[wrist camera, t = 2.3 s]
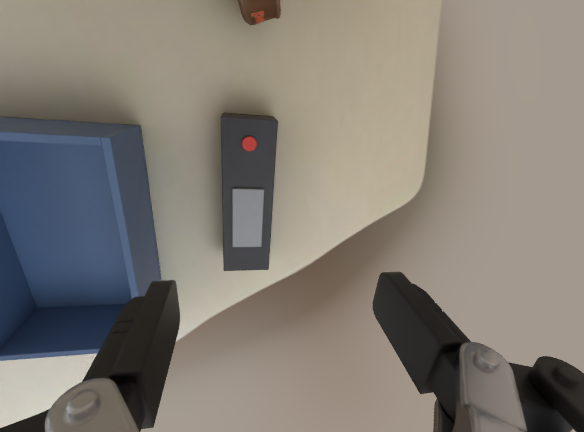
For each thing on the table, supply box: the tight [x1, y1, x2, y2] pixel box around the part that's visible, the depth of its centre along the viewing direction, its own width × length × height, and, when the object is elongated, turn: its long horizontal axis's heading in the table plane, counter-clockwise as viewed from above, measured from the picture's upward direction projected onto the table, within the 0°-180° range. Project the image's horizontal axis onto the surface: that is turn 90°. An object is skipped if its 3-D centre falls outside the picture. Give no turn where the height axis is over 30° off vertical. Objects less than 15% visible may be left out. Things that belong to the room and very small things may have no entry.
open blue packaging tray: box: [0, 117, 161, 361], centre depth 24 cm, size 13×20×6 cm, turn 175°
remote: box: [221, 113, 278, 271], centre depth 27 cm, size 5×15×4 cm, turn 175°
